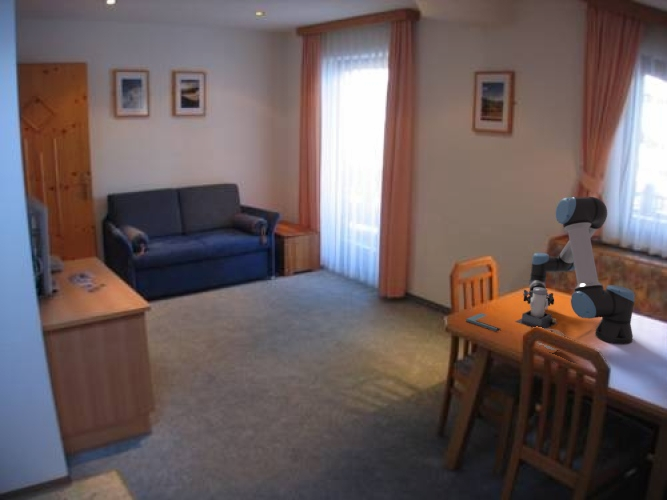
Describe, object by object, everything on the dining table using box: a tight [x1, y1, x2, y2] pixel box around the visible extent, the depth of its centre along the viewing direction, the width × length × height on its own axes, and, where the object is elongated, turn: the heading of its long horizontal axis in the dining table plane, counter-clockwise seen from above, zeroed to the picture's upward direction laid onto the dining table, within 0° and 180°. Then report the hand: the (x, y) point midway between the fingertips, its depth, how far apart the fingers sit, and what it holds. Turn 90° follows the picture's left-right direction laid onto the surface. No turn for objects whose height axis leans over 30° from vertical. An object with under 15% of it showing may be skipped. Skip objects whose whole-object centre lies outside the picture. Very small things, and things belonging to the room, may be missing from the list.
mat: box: [465, 312, 501, 332], centre depth 295 cm, size 16×12×1 cm
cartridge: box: [530, 287, 548, 318], centre depth 291 cm, size 6×6×16 cm
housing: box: [514, 309, 558, 329], centre depth 293 cm, size 14×14×6 cm
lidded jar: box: [537, 328, 566, 350], centre depth 265 cm, size 11×11×9 cm
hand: (539, 305), depth 286 cm, fingers closed on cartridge, 6 cm apart
